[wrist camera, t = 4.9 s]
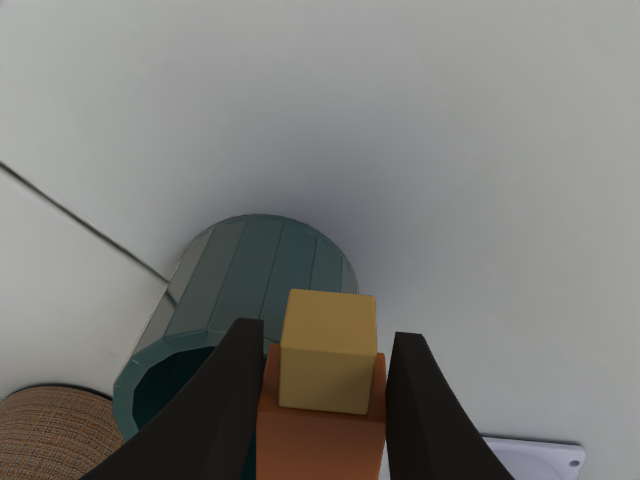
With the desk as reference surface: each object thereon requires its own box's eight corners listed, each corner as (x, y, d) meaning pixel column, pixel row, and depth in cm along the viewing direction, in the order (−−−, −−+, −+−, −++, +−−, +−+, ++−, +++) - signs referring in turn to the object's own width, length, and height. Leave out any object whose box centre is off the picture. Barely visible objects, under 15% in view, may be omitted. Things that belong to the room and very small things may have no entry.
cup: (351, 368, 27) (348, 510, 20) (183, 353, 27) (127, 489, 21) (368, 222, 22) (371, 344, 16) (168, 205, 23) (91, 319, 16)
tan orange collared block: (363, 486, 18) (363, 559, 16) (267, 476, 18) (255, 548, 16) (394, 294, 14) (401, 359, 12) (271, 283, 14) (255, 346, 12)
